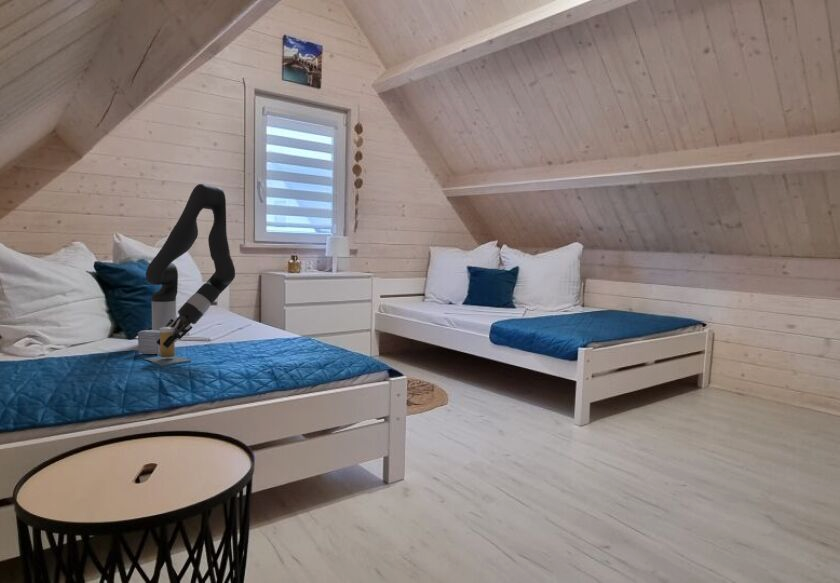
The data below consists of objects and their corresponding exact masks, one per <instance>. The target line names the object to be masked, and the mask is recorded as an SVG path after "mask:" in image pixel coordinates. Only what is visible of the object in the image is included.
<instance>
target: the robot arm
mask: <svg viewBox="0 0 840 583" xmlns="http://www.w3.org/2000/svg"><path fill="white" fill-rule="evenodd" d="M226 202H227V200H226V194H225V191H224V189H223V188H221V187H220V186H217V185H216V186H215V185H209V184H204V183H199V184H197V185H195V187H194V188H193V190H192V191H191V193H190V195H189V197H188V200H187V202H186V204H185V207H184V209H183V211H182V213H181V215H180V216H179V218H178V221H177V222H176V224H175V225H174V226H173V228H172V230H171V232H170V233H169V235H168V237H167V239H166V240H165V242H164V244H163V245H162V247H161V248H160V250H159V251H158V253H157V254H156V256H154V258H153V259H152V260H151V262H150V263H149V265H148V266H147V267H146V272H145V279H146V282H147V283H148V284H150V285H152V286H155V285H156V286H161V288H160V289H159V290H158V291H155V292H154V293H153V294H151V297H150V298H151V330H159V331H160V328H162V327H174V328H173V332H172V334H171V335H170V336H169V337H168V338H167V339H166V340H165V342H164V343H163V345H164V346H165V347H166V348H168V347H169V346H170V345H171V344H172V343H173V342H174V341H175V342H177V340H181V339H182V338H183V337H184V336H186V334H187V333H188V332H190V330H192V329H193V326H192V325H196V324H197V322H198V321H200V319H201V318H202V317H203V316H204V315H205V314H206V312H208V311H209V309H210V307H211V306H213V304H214V302H215V301H216V300H217V299H218V298H219V296H220V294H222V293H223V292H224V291H225V290H226V289H227V288H228V287H229V285H230V284H232V282H233V281H234V279H235V278H236V269H235V265H234V263H233V259H232V256H231V252H230V244H229V241H228V235H227V234H228V232H227V206H226V205H227V203H226ZM203 209H204V210H211V211H212V214H213V224H212V226H211V229H210V231H209V234H208V240H207V241H208V249H209V254H210V259H211V260H212V261H213V264H214V270H215V271H214V273H213V274H212V275H211V276H210V277H209V279H208V280H207V281H206V282H205V283H203V284H202V285H201V286H200V287H199V288H198V289H197V291H195V293H194V294H192V295H191V296H190V297H189V298H188V299H187V300H186V302H185V303H184V304H183V305H182V306H181V307H180V308H179V309H178V310H177V295H178V284H179V273H178V272H179V271H178V268H177V266H176V265H175V263H173V262H174V261H175V260H176V259H178V258H180V257H181V256H183V255H184V254H186V252H188V251H189V250H190V249H191V247H192V246H193V245H194V243H195V241H196V240H197V238H198V236H199V229H198V223H197V219H198V216H199V215H200V212H201V211H203ZM177 314H178V317H177ZM157 344H159V345H160V338H159V339H158V340H157Z"/></svg>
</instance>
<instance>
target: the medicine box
mask: <svg viewBox="0 0 840 583" xmlns="http://www.w3.org/2000/svg"><path fill="white" fill-rule="evenodd" d="M159 338H160V331H159V330H152V329H145V330H140V331H138V332H137V341H138V342H137V344H138V347H137V348H138V349H137V350H138V354H139V353H142V354H157V355H156V356H160V355H159V354H160V345H159V344H157V340H158V339H159Z"/></svg>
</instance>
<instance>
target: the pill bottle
mask: <svg viewBox="0 0 840 583" xmlns="http://www.w3.org/2000/svg"><path fill="white" fill-rule="evenodd" d="M173 328H174V327H162V328H160V355H159V356H161V357H173V356H175V355H176V350H175V349H176V347H175V346H176V345H175V342H176V341H174V342H173V343H172V344H171V345H170V346H169V347H168V348H166V347H165V346H164V345H163V343H164V342H165V340H166V339H167V338H168V337H169V336H170V335H171V334H172V332H173Z"/></svg>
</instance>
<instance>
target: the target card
mask: <svg viewBox="0 0 840 583" xmlns="http://www.w3.org/2000/svg"><path fill="white" fill-rule="evenodd" d="M145 359H146V360H149V361H151V362H153V363H152V364H154V363H156V364H155V365H157V364H158V365H157V366H159V365H160V367H167V366H172V365H173V364H174V365H178V364H179V363H180V364H185V362H187V363H191V362H192V360H191V359H189V358H186V357H183V356H181V355H180V356H179V355H177V354H175V356H173V357H161V356H160V355H156V356H152V357H145V358H144V360H145ZM146 360H145V361H146ZM149 361H148V362H149ZM151 362H150V363H151ZM180 364H179V365H180Z"/></svg>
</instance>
